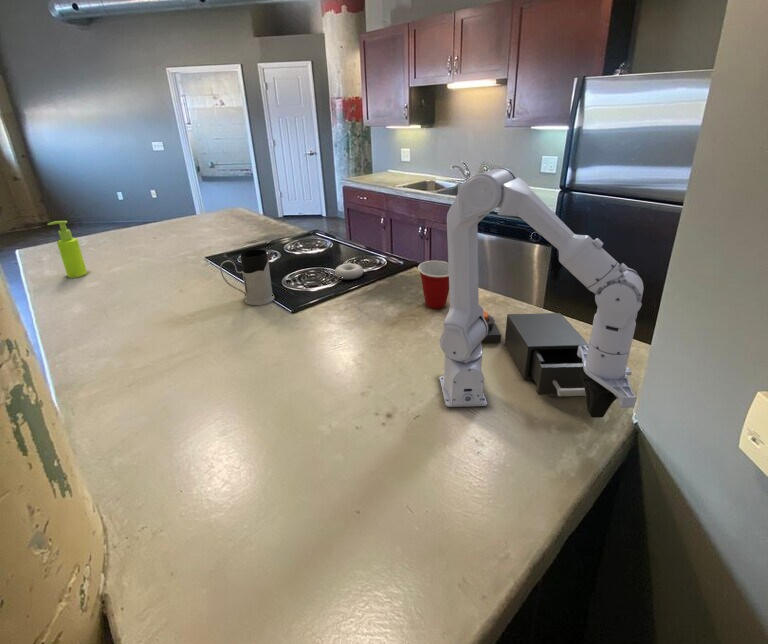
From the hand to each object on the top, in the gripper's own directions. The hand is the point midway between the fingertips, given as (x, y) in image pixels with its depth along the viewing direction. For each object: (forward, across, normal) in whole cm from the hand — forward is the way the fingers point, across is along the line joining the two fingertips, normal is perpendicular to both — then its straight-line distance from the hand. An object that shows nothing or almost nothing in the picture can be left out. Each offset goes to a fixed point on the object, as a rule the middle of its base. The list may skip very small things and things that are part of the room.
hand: (595, 414), depth 70 cm
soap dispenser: (+4, +86, +147) cm, 170 cm away
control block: (+4, +37, +11) cm, 38 cm away
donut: (+5, +79, +47) cm, 92 cm away
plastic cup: (+5, +54, +20) cm, 57 cm away
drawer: (+4, +15, 0) cm, 15 cm away
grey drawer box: (+4, +24, 0) cm, 24 cm away
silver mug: (+5, +60, +76) cm, 97 cm away
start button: (+1, +37, +11) cm, 38 cm away
